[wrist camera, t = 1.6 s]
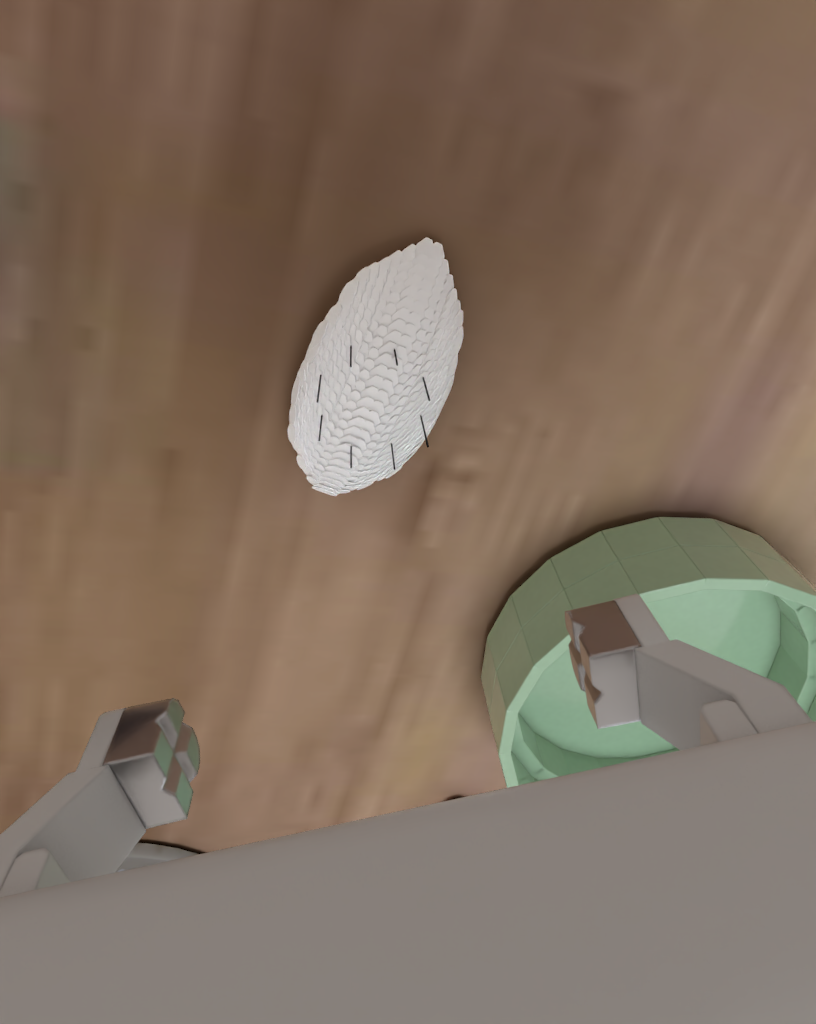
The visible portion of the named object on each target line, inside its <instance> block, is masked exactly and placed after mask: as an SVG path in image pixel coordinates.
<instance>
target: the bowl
mask: <svg viewBox="0 0 816 1024" xmlns="http://www.w3.org/2000/svg"><path fill="white" fill-rule="evenodd" d="M633 594H638V595H640V596H641V598H642V599H643V601H644V602H645V604H646V605H647V607H648V608H649V610H650V611H651V613H652V614H653V616H654V617H655V619H656V620H657V622H658V623H659V625H660V626H661V628H662V629H663V631H664V633H665V634H666V636H667V637H668V639H669V640H670V641H671V640H676V639H677V640H680V641H682V642H684V643H687V644H689V645H691V646H694V647H696V648H698V649H701V650H703V651H705V652H708V653H710V654H712V655H714V656H717V657H719V658H721V659H724V660H726V661H728V662H731V663H733V664H735V665H738V666H740V667H742V668H745V669H747V670H749V671H752V672H754V673H756V674H759V675H761V676H763V677H766V678H768V679H770V680H772V681H775V682H777V683H779V684H782V685H784V686H785V688H786V689H787V690H788V691H789V693H790V694H791V695H792V696H793V698H794V699H795V700H796V701H797V703H798V704H799V705H800V706H801V707H802V709H803V710H804V711H805V712H806V714H807V715H808V716H809V717H810V719H811V720H812V721H816V588H815V587H814V586H813V585H812V584H811V583H810V582H809V581H808V580H807V579H806V578H805V577H804V576H803V575H802V574H801V573H800V572H799V571H798V570H797V569H796V568H795V567H794V566H793V565H792V564H791V563H790V562H789V561H788V560H787V559H786V558H784V557H783V556H782V555H781V554H780V553H779V552H778V551H777V550H775V549H774V548H773V547H772V546H771V545H770V544H769V543H768V542H767V541H765V540H764V539H763V538H762V537H761V536H759V535H757V534H754V533H751V532H749V531H746V530H743V529H740V528H737V527H735V526H732V525H729V524H726V523H724V522H721V521H718V520H715V519H712V518H682V517H658V518H657V517H655V518H651V519H647V520H643V521H639V522H634V523H630V524H626V525H622V526H618V527H614V528H610V529H606V530H602V531H599V532H597V533H595V534H594V535H592V536H590V537H588V538H586V539H584V540H582V541H581V542H579V543H577V544H575V545H573V546H571V547H569V548H568V549H566V550H564V551H562V552H560V553H558V554H557V555H555V556H553V557H551V558H550V559H548V560H547V561H546V562H545V563H544V564H543V565H542V566H541V567H540V568H539V569H538V570H537V571H536V572H535V573H534V574H533V575H532V576H530V577H529V578H528V579H527V580H526V581H525V582H524V583H523V584H522V585H521V586H520V587H519V588H518V589H517V590H516V591H515V592H514V593H513V594H512V595H511V596H510V597H509V599H508V601H507V602H506V604H505V606H504V608H503V610H502V611H501V613H500V615H499V617H498V619H497V620H496V622H495V624H494V626H493V627H492V629H491V631H490V633H489V635H488V637H487V642H486V648H485V654H484V661H483V667H482V674H481V681H482V686H483V690H484V694H485V699H486V703H487V707H488V712H489V716H490V720H491V725H492V729H493V733H494V738H495V742H496V746H497V751H498V755H499V759H500V763H501V766H502V770H503V774H504V778H505V782H506V786H507V788H508V787H513V786H518V785H522V784H527V783H531V782H536V781H541V780H545V779H550V778H555V777H559V776H564V775H568V774H573V773H578V772H582V771H587V770H591V769H596V768H601V767H605V766H610V765H615V764H619V763H624V762H628V761H633V760H638V759H642V758H647V757H652V756H656V755H661V754H665V753H670V752H675V751H679V749H678V748H676V747H675V746H673V745H672V744H670V743H669V742H668V741H666V740H665V739H663V738H662V737H660V736H659V735H658V734H656V733H655V732H653V731H652V730H650V729H649V728H647V727H646V726H645V725H643V724H642V723H641V721H639V722H633V723H628V724H623V725H618V726H612V727H607V728H602V729H598V728H597V726H596V723H595V721H594V719H593V717H592V714H591V712H590V710H589V708H588V705H587V698H586V692H584V691H582V690H581V689H580V687H579V684H578V682H577V679H576V676H575V674H574V670H573V666H572V662H571V658H570V652H569V646H568V645H569V643H570V641H571V638H570V635H569V633H568V631H567V629H566V624H565V611H568V610H573V609H577V608H581V607H586V606H590V605H595V604H599V603H603V602H608V601H612V600H613V599H617V598H621V597H625V596H629V595H633Z"/></svg>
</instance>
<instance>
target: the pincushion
mask: <svg viewBox="0 0 816 1024" xmlns="http://www.w3.org/2000/svg"><path fill="white" fill-rule="evenodd" d="M444 257H445V256H444V251H443V246H442V244H440V243H438V242H435V243H434V244H433V241H432V239H429V238H427V237H426V238H424V239H423V240H421V241H420V242H418V243H417V244H416V245H414V244H411V245H410V246H408V247H407V248H405V249H404V250H403V251H402V252H401V251H400V250H397V251H396V252H395V253H393V254H392V255H390V256H389V257H385V258H384V259H382V260H381V261H379V262H378V263H377V262H374V263H373V264H371V265H370V266H368V267H364V268H363V269H362V270H361V271H359V272H358V273H357V275H356V276H355V278H354V279H353V280H351V281H350V282H348V283H347V284H346V285H345V287H344V288H343V290H342V292H341V293H340V296H339V300H338V302H337V303H336V305H335V306H333V307H331V309H330V310H329V312H328V314H327V315H326V317H325V320H323V321H322V322H321V323H320V324H319V325H318V327H317V328H316V330H315V332H314V333H313V337H312V341H311V343H310V344H309V347H308V350H307V353H306V356H305V359H304V361H303V362H302V364H301V366H300V370H299V371H298V373H297V377H296V380H295V382H294V385H293V389H292V393H291V404H292V405H291V408H290V411H289V423H290V424H289V426H288V430H287V431H288V439H289V441H290V443H292V446H293V448H294V450H296V452H297V453H298V455H297V457H296V459H297V463H298V465H299V467H300V468H301V469H303V472H304V473H305V474H306V475H307V477H306V479H307V480H308V481H309V482H310V483H311V484H312V485H313V486H312V488H313V489H315V490H318V491H320V492H323V493H326V494H329V495H332V496H337V494H339V493H349V492H350V490H354V489H358V490H359V489H363V488H365V487H367V486H369V485H371V484H373V482H374V481H376V480H378V481H380V480H382V479H383V478H385V477H386V479H387V478H389V477H391V476H392V475H394V474H395V473H396V472H398V471H399V470H400V469H401V468H402V465H403V464H404V463H405V462H406V461H407V460H408V459H410V458H411V457H412V456H413V455H414V454H415V453H416V451H417V450H418V449H419V447H420V446H421V445H422V443H423V442H424V440H426V444H427V447H429V445H428V441H427V436H428V435H429V433H430V432H431V429H432V428H433V426H434V424H435V423H436V420H437V418H438V416H439V414H440V412H441V410H442V408H443V406H444V404H445V401H446V399H447V397H448V395H449V393H450V390H451V387H452V384H453V382H454V375H455V374H454V373H455V370H456V366H457V363H458V352H459V350H460V348H461V345H462V340H463V336H464V334H463V326H462V323H463V310H461V304H460V300H458V298H457V289H455V288H454V281H453V275H451V274H449V272H450V271H449V265H448V260H446V259H444ZM435 414H436V415H435ZM410 455H411V456H410ZM409 456H410V457H409ZM408 457H409V458H408ZM407 458H408V459H407ZM406 459H407V460H406Z"/></svg>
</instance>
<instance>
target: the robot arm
mask: <svg viewBox="0 0 816 1024" xmlns="http://www.w3.org/2000/svg"><path fill="white" fill-rule="evenodd" d="M565 624H566V629H567V631H568V633H569V635H570V638H571V641H570V643H569V645H568V646H569V652H570V658H571V662H572V666H573V670H574V674H575V676H576V679H577V682H578V684H579V687H580V689H581V690H582V691H584V692H586V698H587V705H588V708H589V710H590V712H591V714H592V717H593V719H594V721H595V723H596V726H597V728H598V729H602V728H607V727H612V726H618V725H623V724H628V723H633V722H639V721H641V723H642V724H643V725H645V726H646V727H647V728H649V729H650V730H652V731H653V732H655V733H656V734H658V735H659V736H660V737H662V738H663V739H665V740H666V741H668V742H669V743H670V744H672V745H673V746H675V747H676V748H678V749H679V751H675V752H670V753H665V754H661V755H656V756H652V757H647V758H642V759H638V760H633V761H628V762H624V763H619V764H615V765H610V766H605V767H601V768H596V769H591V770H587V771H582V772H578V773H573V774H568V775H564V776H559V777H555V778H550V779H545V780H541V781H536V782H531V783H527V784H522V785H518V786H513V787H508V788H504V789H499V790H494V791H490V792H485V793H481V794H476V795H471V796H467V797H462V798H457V799H453V800H448V801H444V802H439V803H434V804H430V805H425V806H420V807H416V808H411V809H407V810H402V811H397V812H393V813H388V814H384V815H379V816H374V817H370V818H365V819H360V820H356V821H351V822H346V823H342V824H337V825H333V826H328V827H323V828H319V829H314V830H309V831H305V832H300V833H296V834H291V835H286V836H282V837H277V838H272V839H268V840H263V841H258V842H254V843H249V844H245V845H240V846H235V847H231V848H226V849H221V850H217V851H212V852H208V853H203V854H198V855H194V856H189V857H184V858H180V859H175V860H170V861H166V862H161V863H157V864H152V865H147V866H143V867H138V868H133V869H129V870H124V871H120V872H116V871H117V869H118V868H119V867H120V865H121V864H122V863H123V861H124V860H125V859H126V857H127V856H128V855H129V853H130V852H131V851H132V849H133V848H134V847H135V845H136V844H137V843H138V841H139V840H140V839H141V837H142V836H143V835H144V833H145V832H146V829H147V828H151V827H155V826H159V825H164V824H168V823H172V822H176V821H180V820H184V819H187V817H188V813H189V808H190V804H191V800H192V796H193V790H192V788H191V786H190V782H191V781H192V779H193V778H194V777H195V776H196V775H197V774H198V770H199V765H200V748H199V744H198V740H197V737H196V734H195V732H194V730H193V728H192V727H190V726H188V725H186V724H185V723H183V722H182V721H183V717H184V713H185V711H184V710H183V708H182V706H181V704H180V702H179V700H177V699H174V698H172V699H167V700H162V701H157V702H151V703H146V704H141V705H136V706H131V707H128V708H123V709H118V710H113V711H108V712H105V713H103V714H102V715H101V716H100V717H99V719H98V721H97V723H96V726H95V728H94V730H93V732H92V735H91V737H90V739H89V742H88V744H87V746H86V749H85V751H84V753H83V756H82V758H81V760H80V763H79V765H78V767H77V769H76V772H73V773H69V774H67V775H66V776H65V777H64V778H63V779H62V780H61V781H60V782H58V783H57V784H56V785H55V786H54V787H53V788H52V789H51V790H50V791H48V792H47V793H46V794H45V795H44V796H43V797H42V798H41V799H40V800H38V801H37V802H36V803H35V804H34V805H33V806H32V807H31V808H30V809H28V810H27V811H26V812H25V813H24V814H23V815H22V816H21V817H20V818H18V819H17V820H16V821H15V822H14V823H13V824H12V825H11V826H10V827H8V828H7V829H6V830H5V831H4V832H3V833H2V834H1V835H0V1024H816V721H812V720H811V719H810V717H809V716H808V715H807V714H806V712H805V711H804V710H803V709H802V707H801V706H800V705H799V704H798V703H797V701H796V700H795V699H794V698H793V696H792V695H791V694H790V693H789V691H788V690H787V689H786V688H785V686H784V685H782V684H779V683H777V682H775V681H772V680H770V679H768V678H766V677H763V676H761V675H759V674H756V673H754V672H752V671H749V670H747V669H745V668H742V667H740V666H738V665H735V664H733V663H731V662H728V661H726V660H724V659H721V658H719V657H717V656H714V655H712V654H710V653H708V652H705V651H703V650H701V649H698V648H696V647H694V646H691V645H689V644H687V643H684V642H682V641H680V640H677V639H676V640H671V641H670V640H669V639H668V637H667V636H666V634H665V633H664V631H663V629H662V628H661V626H660V625H659V623H658V622H657V620H656V619H655V617H654V616H653V614H652V613H651V611H650V610H649V608H648V607H647V605H646V604H645V602H644V601H643V599H642V598H641V596H640V595H638V594H633V595H629V596H625V597H621V598H617V599H613V600H612V601H608V602H603V603H599V604H595V605H590V606H586V607H581V608H577V609H573V610H568V611H565Z"/></svg>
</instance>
